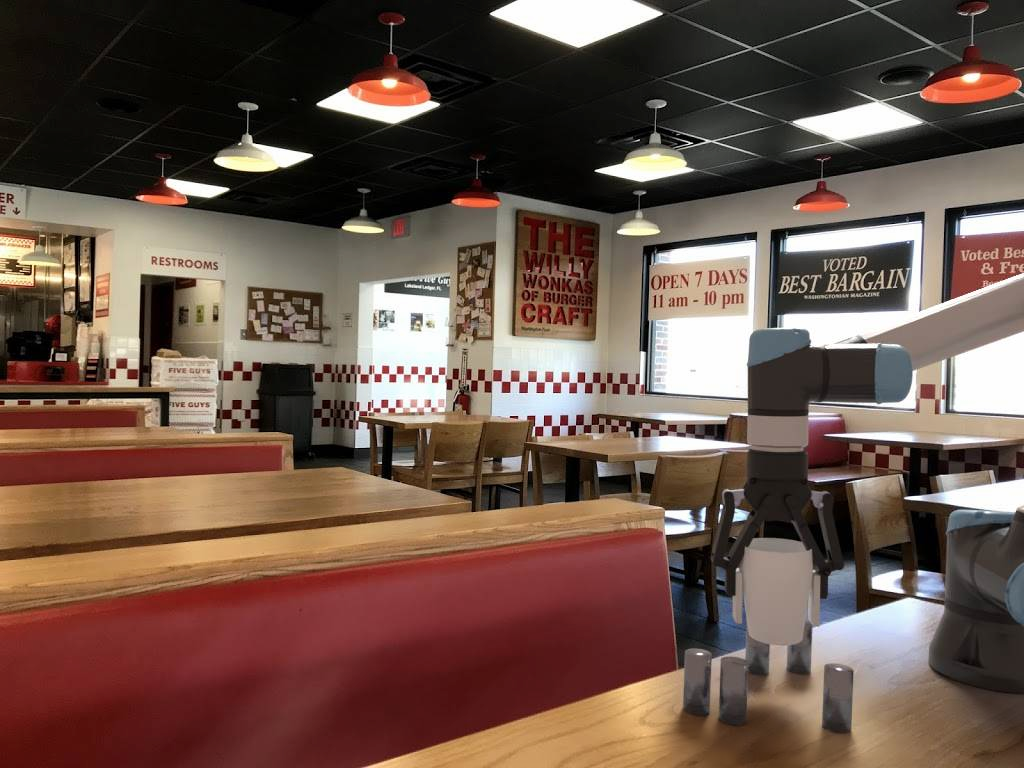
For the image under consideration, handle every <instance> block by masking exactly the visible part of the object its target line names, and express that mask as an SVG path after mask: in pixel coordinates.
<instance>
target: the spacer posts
mask: <svg viewBox="0 0 1024 768" xmlns="http://www.w3.org/2000/svg"><path fill="white" fill-rule="evenodd" d="M813 627H814V626H813V625H812V624H811V623H810V622H809V620H808V617H806V620H805V626H804V632H803V639H802V641H801V642H799V643H797V644H794V645H786V647H787V649H786V652H787V653H786V670H787V671H788V672H791V673H792V674H796V675H797V674H798V675H808V674H811V672H812V649H813V647H812V646H813V644H812V643H813ZM745 632H746V633H745V653H744V654H745V657H744V658H745V659H744V658H742V657H739V656H738V657H737V656H724V657H721V658H720V668H719V669H720V670H719V695H718V696H719V697H718V720H719V721H721V723H723V724H727V725H729V726H730V725H731V726H744V725H745V724H746V723H747V712H748V689H749V688H748V687H749V685H748V684H749V674H751V675H755V676H767V675H768V674H770V655H771V653H770V651H771V650H770V649H771V644H766V643H762V642H759V641H757V640H755V639H753V638H752V637H750V636H749V633H748V625H747V624H746V630H745ZM712 658H713V655H712V653H711V651H708V650H706V649H703V648H688V649H685V651H684V669H683V670H684V671H683V673H684V674H683V693H682V694H683V699H682V709H683V711H684V712H685V713H687V714H689V715H692V716H693V715H694V716H708V715H709V714H710V711H711V689H712V687H711V686H712V684H711V683H712V682H711V681H712V663H713V662H712V660H713V659H712ZM823 669H824V670H823V687H822V688H823V690H822V691H823V692H822V693H823V694H822V695H823V696H822V714H821V715H822V716H821V717H822V719H821V727H822V728H824V729H825V730H827V731H829V732H832V733H835V734H848V733H851V732H852V723H853V722H852V719H853V698H854V697H853V695H854V669H853V668H852V667H850V666H848V665H845V664H841V663H835V662H833V663H826V664H824V667H823Z"/></svg>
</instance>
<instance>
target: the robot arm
mask: <svg viewBox="0 0 1024 768" xmlns="http://www.w3.org/2000/svg"><path fill="white" fill-rule="evenodd" d="M1020 333H1024V272H1023V273H1021V274H1018V275H1016V276H1012V277H1010V278H1007V279H1005V280H1002V281H999V282H997V283H994V284H991V285H988V286H985V287H983V288H981V289H978V290H975V291H972V292H970V293H967V294H964V295H962V296H958V297H956V298H954V299H950V300H947V301H945V302H943V303H940V304H937V305H934V306H931V307H929V308H927V309H924V310H921V311H918V312H916V313H913V314H910V315H906V316H905V317H902V318H900V319H897V320H894V321H891V322H889V323H886V324H883V325H880V326H877V327H875V328H872V329H870V330H867V331H865V332H862V333H859V334H857V335H855V336H851V337H848V338H846V339H843V340H841V341H838V342H836V343H835V342H834V343H832V344H822V343H814V342H813V343H812V339H810V336H811V335H810V332H809V330H808V329H806V328H801V327H798V328H797V327H795V328H794V327H772V328H771V327H768V328H765V327H764V328H759V329H756V330H754V331H753V332H751V334H750V336H749V340H748V355H747V356H748V357H747V363H746V367H747V427H746V428H747V429H746V433H747V434H746V443H747V444H748V445H750V446H751V448H748V450H747V451H746V479H745V480H746V481H745V484H744V485H743V487H742V488H741V489H740V488H739V489H732V490H729V489H728V488H723V489H722V491H721V503H722V508H721V512H720V517H719V520H718V524H717V529H716V533H715V536H714V537H715V538H714V541H713V546H712V550H711V553H710V561H711V563H712V564H713V565H714V566H715V567H719V568H722V569H723V570H724V591H725V593H726V595H727V596H728V597H729V596H731V597H732V619H733V621H734V623H735V624H743V588H742V577H743V573H742V572H741V571H740V562H741V560H742V558H743V556H744V554H745V547H749V545H750V543H751V541H752V539H753V538H755V535H756V533H757V531H758V530H759V528H761V526H762V524H763V523H764V521H766V522H774V521H782V522H791V523H792V524H793V526H794V529H795V531H796V533H797V534H798V536H799V538H800V542H802V543H803V545H804V547H805V549H806V551H809V550H811V549H812V563H813V567H814V569H813V576H812V582H811V589H810V595H809V601H808V607H807V619H808V620H809V622H810V623H811V624H812V625H813V627H818V628H819V627H820V626H821V623H820V621H821V619H820V618H821V600H827V598H828V596H829V576H830V575H831V574H832V572H835V571H842V570H843V569H844V567H845V564H844V563H845V562H844V558H843V554H842V549H841V545H840V542H839V541H840V540H839V536H838V531H837V527H836V523H835V519H834V515H833V509H834V502H835V496H834V495H833V494H832V493H830V492H829V491H827V490H821V491H816V490H812V489H811V488H810V485H809V453H808V451H807V450H804V448H806V447H807V446H809V416H810V415H809V413H810V409H809V408H810V403H841V404H842V403H847V404H848V403H849V404H850V403H851V404H856V403H857V404H876V405H881V404H891V403H892V404H893V403H896V404H897V403H901V402H903V401H904V400H905V399H906V398H907V397H908V395H909V393H910V391H911V388H912V384H913V376H914V375H913V374H914V373H913V372H914V371H917V370H920V369H922V368H926V367H928V366H931V365H934V364H937V363H939V362H942V361H945V360H948V359H950V358H954V357H956V356H959V355H962V354H965V353H968V352H969V351H973V350H975V349H978V348H982V347H984V346H987V345H989V344H990V345H991V344H993V343H996V342H998V341H1001V340H1004V339H1006V338H1009V337H1012V336H1014V335H1018V334H1020ZM742 499H745V500H746V502H747V503H748V504H749V506H750V507H751V509H750V511H749V513H748V514H747V516H746V520H745V522H744V524H743V525H742V528H741V530H740V532H739V534H738V535H737V537H736V539H735V541H734V543H733V545H732V547H731V549H730V550H729V552H728V554H727V555H726V556H725V554H726V552H727V551H726V550H727V546H728V542H729V537H730V534H731V530H732V525H733V522H734V518H735V514H736V508H737V507H739V506H740V504H741V501H742ZM810 500H812V503H813V506H814V507H815V508H817V515H818V520H819V523H820V527H821V533H822V536H823V540H824V541H823V542H824V545H825V550H826V551H825V552H826V555H827V559H825V558H824V555H823V554H822V552H821V549H820V548H819V545H818V544H817V541H816V539H815V538H814V536H813V534H812V532H811V530H810V527H809V526H808V523H807V521H806V519H805V516H804V514H803V513H802V511H803V509H804V508H805V507H806V505H807V504H808V503H809V502H810ZM945 536H946V549H945V550H946V553H945V554H946V555H945V558H946V559H945V579H944V580H945V581H944V582H945V584H944V585H945V586H944V607H943V613H942V615H941V617H940V620H939V622H938V625H937V627H936V629H935V632H934V634H933V636H932V638H931V641H930V643H929V647H928V664H929V665H930V667H932V668H933V669H934V670H935V671H937V672H938V673H940V674H942V675H943V676H946V677H947V678H950V679H953V680H954V681H958V682H961V683H963V684H968V685H969V686H974V687H978V688H982V689H987V690H992V691H996V692H997V691H999V692H1002V693H1003V692H1005V693H1015V694H1024V504H1023V505H1020V506H1018V507H1017V508H1016V510H1015V511H1003V510H983V509H982V510H981V509H980V510H979V509H957V510H954V511H952V512H951V513H950V514H949V517H948V523H947V529H946V532H945Z"/></svg>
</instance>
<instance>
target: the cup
mask: <svg viewBox="0 0 1024 768" xmlns="http://www.w3.org/2000/svg"><path fill="white" fill-rule="evenodd" d="M739 569H740V571H741V572H742V573H743V577H742V596H743V600H744V601H743V604H744V608H745V609H744V611H745V615H746V617H745V618H746V626H747V625H748V633H749V636H750V637H752V638H753V639H755V640H757V641H759V642H762V643H766V644H770V646H771V645H772V646H787V645H794V644H797V643H799V642H801V641H802V639H803V632H804V626H805V620H806V618H807V615H808V601H809V595H810V589H811V582H812V576H813V570H814V564H813V562H812V549H811V550H809V551H806V549H805V547H804V545H803V543H802V541H797V540H794V539H787V538H776V537H756V538H755V537H753V539H752V541H751V543H750V545H749V547H745V554H744V556H743V558H742V560H741V562H740V564H739Z"/></svg>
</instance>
